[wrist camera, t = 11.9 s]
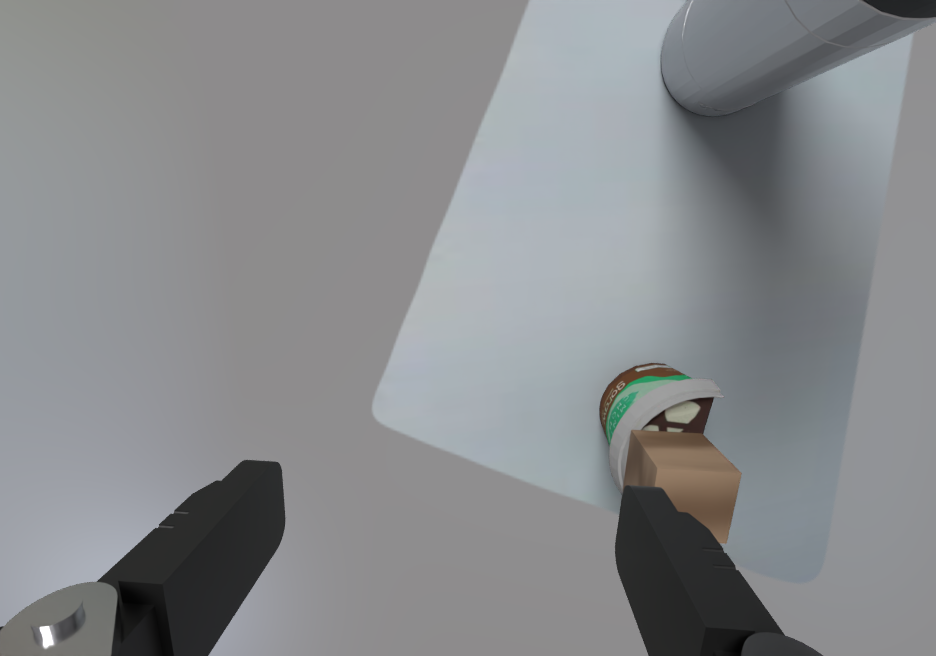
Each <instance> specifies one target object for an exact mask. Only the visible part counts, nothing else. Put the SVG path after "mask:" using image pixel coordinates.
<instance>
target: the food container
mask: <svg viewBox="0 0 936 656" xmlns="http://www.w3.org/2000/svg"><path fill="white" fill-rule="evenodd" d="M714 397H718V398H724V396H723V395H722V394H720V389H719V387H718V386H717V385H716V384H715V383H714V381H713V380H712V379H692V378H690V377H688V376H686V375H684V374H683V373H681V372H679V371H677V370H675V369H673V368H671V367H669V366H667V365H666V364H659V363H649V364H644V365H639V366H635V367H633V368H631V369H629V370H627V371H625V372H623V373H621V374H619V375H618V376H617V377H616V378H615V379H614V380H613V381H612V382H611V383H610V384H609V385H608V387H607V388H606V390H605V392H604V394H603V396H602V399H601V402H600V408H599V411H600V420H601V424H602V426H603V429H604V432H605V435H606V437H607V440H608V443H609V445H610V450H609V465H610V469H611V474H612V477H613V479H614V482H615V484H616V486H617V487H618V489H619V491H620V492H621V494H623V483H624V476H625V469H626V462H627V455H628V448H629V441H630V434H631V430H647V431H665V432H683V433H701V434H703V432H704V429H705V425H706V422H707V419H708V415H709V412H710V409H711V406H712V402H713V399H714Z"/></svg>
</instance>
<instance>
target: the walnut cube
mask: <svg viewBox="0 0 936 656" xmlns="http://www.w3.org/2000/svg"><path fill="white" fill-rule="evenodd" d="M741 474H742V473H741V472H740V471H739V470H738V469H737V468H736V467H735V466H734V465H733V464H732V463H731V462H730V461H729V460H728V459H727V458H726V457H725V456H724V455H723V454H722V453H721V452H720V451H719V450H718V449H717V448H716V447H715V446H714V445H713V444H712V443H711V442H710V441H709V440H708V439H707V438H706V437H705V436H704V435H703V434H701V433H683V432H665V431H647V430H631V434H630V441H629V448H628V455H627V462H626V469H625V476H624V483H623V490H624V488H625V486H626V485H635V486H651V487H661V488H662V489H663V490H664V491H665V492H666V494H667V495H668V497H669V498H670V500H671V501H672V503H673V505H674V506H675V508H676V509H677V511H678V512H688V513H689V514H691V515H692V516H693V517H694V518H696V519H697V520H698V521H699V522H701V523H702V524H703V525H704V526H706V527H707V528H708V529H709V530H710V531H711V532H712V534H713V535H714V537H715V538H716V539H717V541H718V542H719V543H725V544H726V543H727V539H728V534H729V529H730V525H731V520H732V516H733V511H734V506H735V502H736V497H737V492H738V488H739V483H740V478H741Z"/></svg>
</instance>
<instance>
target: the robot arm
mask: <svg viewBox="0 0 936 656" xmlns="http://www.w3.org/2000/svg"><path fill="white" fill-rule="evenodd" d="M935 22H936V0H687V1H686V3H685V4H684V6H683V7H682V8H681V9H680V10H679V12H678V13H677V14H676V15H675V17H674V18H673V20H672V22H671V24H670V26H669V28H668V30H667V32H666V35H665V38H664V41H663V46H662V53H661V66H662V73H663V77H664V81H665V84H666V86H667V88H668V90H669V92H670V94H671V95H672V96H673V97H674V99H675V100H676V101H677V102H678V103H679V104H680V105H682V106H683V107H684V108H686V109H687V110H689V111H691V112H694V113H696V114H699V115H705V116H722V115H727V114H730V113H733V112H736V111H739V110H741V109H744V108H746V107H749V106H751V105H754V104H755V103H757V102H759V101H761V100H763V99H766V98H768V97H770V96H773V95H775V94H777V93H779V92H782V91H784V90H786V89H788V88H791V87H793V86H795V85H797V84H800V83H802V82H804V81H806V80H808V79H811V78H813V77H815V76H817V75H820V74H822V73H824V72H826V71H829V70H831V69H833V68H835V67H838V66H840V65H842V64H844V63H847V62H849V61H851V60H853V59H855V58H858V57H860V56H862V55H864V54H867V53H869V52H871V51H873V50H876V49H878V48H880V47H882V46H885V45H887V44H889V43H891V42H894V41H896V40H898V39H900V38H902V37H905V36H907V35H909V34H911V33H913V32H916V31H917V30H920V29H922V28H924V27H927V26H929V25H931V24H933V23H935ZM284 528H285V507H284V493H283V479H282V469H281V466H280V464H279V463H278V462H270V461H255V460H244V461H242V462H241V463H240V464H238V466H236V467H235V468H234V469H233V470H232V471H231V472H230V473H229V474H228V475H227V476H226V477H225V478H224V479H223V480H222V481H215V482H213V483H211V484H210V485H208V486H206V487H204V488H202V489H200V490H199V491H197V492H195V493H193V494H192V495H191V496H190V497H189V498H187V499H186V500H185V501H184V502H183V503H182V504H181V505H180V506H179V507H178V508H177V509H176V510H175V511H174V514H170V515H169V516H168V517H167V518H166V519H165V520H164V521H162V522H161V523H160V524H159V527H158V528H155V529H154V530H153V531H151V532H150V533H149V534H148V535H147V536H146V537H145V538H144V539H143V540H142V541H141V542H140V543H138V544H137V545H136V546H135V547H134V548H133V549H132V550H131V551H130V552H129V553H127V554H126V555H125V556H124V557H123V558H122V559H121V560H120V561H119V562H118V563H117V564H115V565H114V566H113V567H112V568H111V569H110V570H109V571H108V572H107V573H106V574H105V575H103V576H102V577H101V578H100V579H99V580H98V581H97V582H87V583H81V584H76V585H73V586H69V587H66V588H63V589H61V590H58V591H56V592H53V593H51V594H49V595H47V596H45V597H43V598H41V599H39V600H37V601H36V602H34V603H32V604H31V605H29V606H28V607H26V608H25V609H23V610H22V611H21V612H19V613H18V614H17V615H15V616H14V617H13V618H12V619H11V620H10V621H9V622H8V623H7V624H6V625H5V626H3V627H0V656H208V655H209V653H210V652H211V650H212V649H213V647H214V646H215V644H216V642H217V641H218V639H219V638H220V636H221V635H222V633H223V632H224V630H225V629H226V627H227V626H228V624H229V623H230V621H231V620H232V618H233V616H234V615H235V613H236V612H237V610H238V609H239V607H240V606H241V604H242V602H243V601H244V599H245V598H246V596H247V595H248V593H249V592H250V590H251V589H252V587H253V586H254V584H255V582H256V581H257V579H258V578H259V576H260V575H261V573H262V572H263V570H264V569H265V567H266V566H267V564H268V562H269V561H270V559H271V558H272V556H273V555H274V553H275V552H276V550H277V548H278V547H279V545H280V542H281V540H282V536H283V533H284ZM615 556H616V564H617V569H618V573H619V576H620V579H621V581H622V584H623V587H624V589H625V592H626V595H627V598H628V600H629V603H630V606H631V608H632V611H633V614H634V617H635V620H636V622H637V625H638V628H639V630H640V633H641V636H642V638H643V641H644V644H645V647H646V649H647V652H648V655H649V656H823V655H821V654H820V653H818V652H817V651H816V650H814V649H813V648H811V647H809V646H807V645H805V644H804V643H802V642H799V641H797V640H795V639H793V638H790V637H787V636H785V635H784V633H783V632H782V630H781V629H780V628H779V626H778V625H777V624H776V622H775V621H774V619H773V618H772V616H771V615H770V614H769V612H768V611H767V609H766V608H765V607H764V605H763V604H762V602H761V601H760V600H759V598H758V597H757V596H756V594H755V593H754V591H753V590H752V588H751V587H750V586H749V584H748V583H747V582H746V580H745V579H744V577H743V576H742V575H741V573H740V572H739V571H738V570H736V568H735V565H734V563H733V562H732V560H731V559H730V558H729V556H728V555H727V553H724V551H723V548H722V546H721V545H720V544H719V542H718V541H717V539H716V538H715V537H714V535H713V534H712V532H711V531H710V530H709V529H708V528H707V527H706V526H704V525H703V524H702V523H701V522H699V521H698V520H697V519H696V518H694V517H693V516H692V515H691V514H689V513H688V512H678V511H677V509H676V508H675V506H674V505H673V503H672V501H671V500H670V498H669V497H668V495H667V494H666V492H665V491H664V490H663V489H662V488H661V487H651V486H635V485H626V486H625V488H624V490H623V494H622V501H621V508H620V515H619V522H618V529H617V535H616V543H615Z"/></svg>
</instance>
